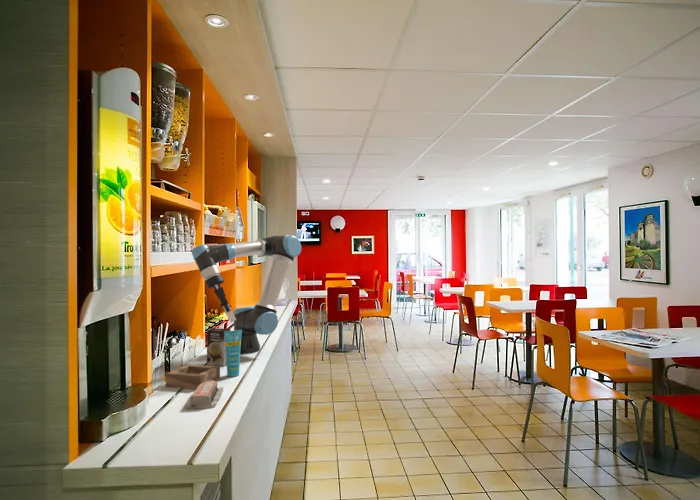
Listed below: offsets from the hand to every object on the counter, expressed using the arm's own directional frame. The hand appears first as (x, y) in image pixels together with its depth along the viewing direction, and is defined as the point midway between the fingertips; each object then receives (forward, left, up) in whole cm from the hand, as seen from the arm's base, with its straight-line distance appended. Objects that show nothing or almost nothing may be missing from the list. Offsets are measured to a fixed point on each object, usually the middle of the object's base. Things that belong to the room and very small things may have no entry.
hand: (232, 320), depth 183 cm
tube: (+6, +4, -22) cm, 24 cm away
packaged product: (+34, +8, -23) cm, 42 cm away
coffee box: (-9, -12, -23) cm, 27 cm away
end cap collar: (+18, -7, -22) cm, 30 cm away
